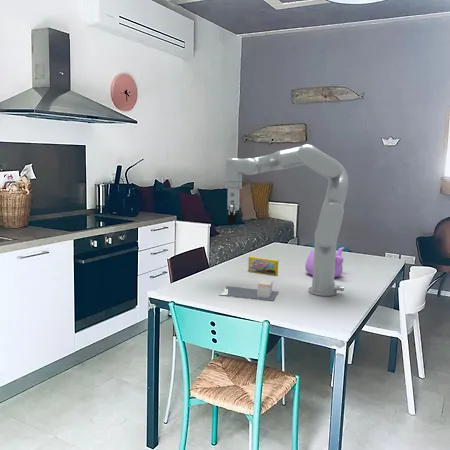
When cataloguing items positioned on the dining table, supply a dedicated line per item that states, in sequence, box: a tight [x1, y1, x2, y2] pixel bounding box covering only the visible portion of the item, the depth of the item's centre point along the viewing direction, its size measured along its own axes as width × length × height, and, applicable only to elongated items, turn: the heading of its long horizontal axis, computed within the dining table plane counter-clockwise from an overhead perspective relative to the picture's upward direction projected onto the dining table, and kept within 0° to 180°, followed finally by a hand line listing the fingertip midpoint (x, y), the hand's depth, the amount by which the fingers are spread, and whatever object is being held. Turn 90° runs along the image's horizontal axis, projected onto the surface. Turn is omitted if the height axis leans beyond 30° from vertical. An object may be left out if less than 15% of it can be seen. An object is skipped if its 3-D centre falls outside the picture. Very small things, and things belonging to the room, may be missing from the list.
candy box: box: [247, 255, 279, 277], centre depth 240 cm, size 16×2×8 cm, turn 62°
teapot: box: [304, 247, 345, 278], centre depth 240 cm, size 23×21×15 cm
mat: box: [225, 285, 279, 302], centre depth 203 cm, size 24×14×1 cm, turn 75°
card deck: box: [256, 279, 274, 298], centre depth 201 cm, size 5×9×5 cm, turn 165°
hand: (232, 222), depth 214 cm, fingers open, 9 cm apart
